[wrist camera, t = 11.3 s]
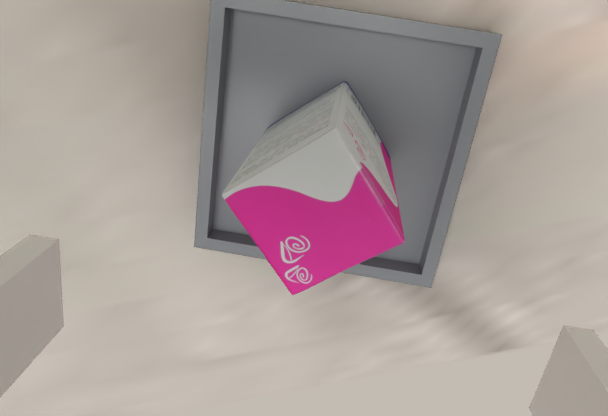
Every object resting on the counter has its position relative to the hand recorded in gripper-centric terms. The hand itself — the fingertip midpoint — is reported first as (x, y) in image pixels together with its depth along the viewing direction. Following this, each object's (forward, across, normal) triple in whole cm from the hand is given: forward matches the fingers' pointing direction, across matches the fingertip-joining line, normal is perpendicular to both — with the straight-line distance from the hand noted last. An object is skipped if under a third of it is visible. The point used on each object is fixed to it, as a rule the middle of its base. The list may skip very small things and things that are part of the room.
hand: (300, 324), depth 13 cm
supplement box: (+19, 0, 0) cm, 19 cm away
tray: (+20, 0, 0) cm, 20 cm away
